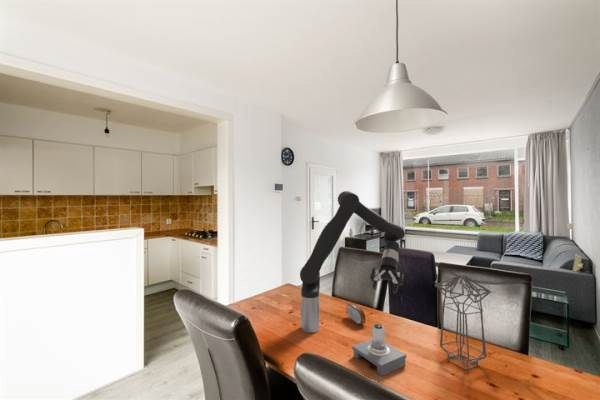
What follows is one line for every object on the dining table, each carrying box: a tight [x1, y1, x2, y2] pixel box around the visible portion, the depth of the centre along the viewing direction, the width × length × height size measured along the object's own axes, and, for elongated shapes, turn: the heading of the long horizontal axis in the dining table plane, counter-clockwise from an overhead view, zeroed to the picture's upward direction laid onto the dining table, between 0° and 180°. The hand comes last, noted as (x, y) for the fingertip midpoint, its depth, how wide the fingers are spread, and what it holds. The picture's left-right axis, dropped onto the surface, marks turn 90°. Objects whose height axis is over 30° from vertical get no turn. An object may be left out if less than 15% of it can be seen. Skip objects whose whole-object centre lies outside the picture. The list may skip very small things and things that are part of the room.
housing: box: [370, 323, 387, 354], centre depth 111 cm, size 7×7×10 cm
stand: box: [351, 338, 407, 377], centre depth 111 cm, size 16×14×4 cm
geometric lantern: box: [434, 274, 493, 371], centre depth 109 cm, size 16×16×35 cm
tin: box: [346, 302, 367, 325], centre depth 148 cm, size 15×3×8 cm, turn 22°
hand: (384, 291), depth 121 cm, fingers open, 8 cm apart
